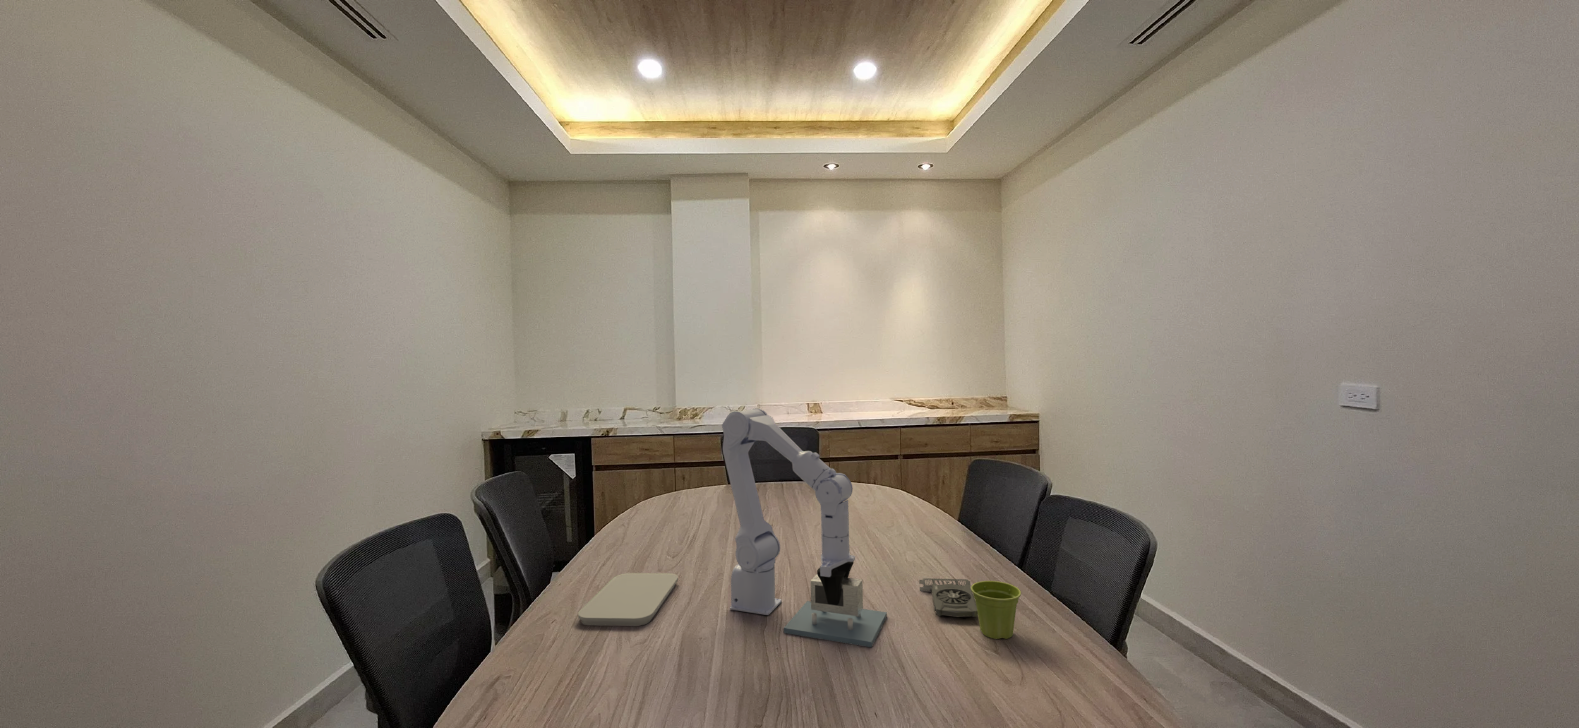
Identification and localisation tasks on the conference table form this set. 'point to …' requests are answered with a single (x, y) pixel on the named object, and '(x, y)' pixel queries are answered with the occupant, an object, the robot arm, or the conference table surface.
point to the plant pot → (996, 607)
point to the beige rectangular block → (848, 597)
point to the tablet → (628, 599)
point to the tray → (837, 625)
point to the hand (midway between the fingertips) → (836, 599)
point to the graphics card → (951, 597)
